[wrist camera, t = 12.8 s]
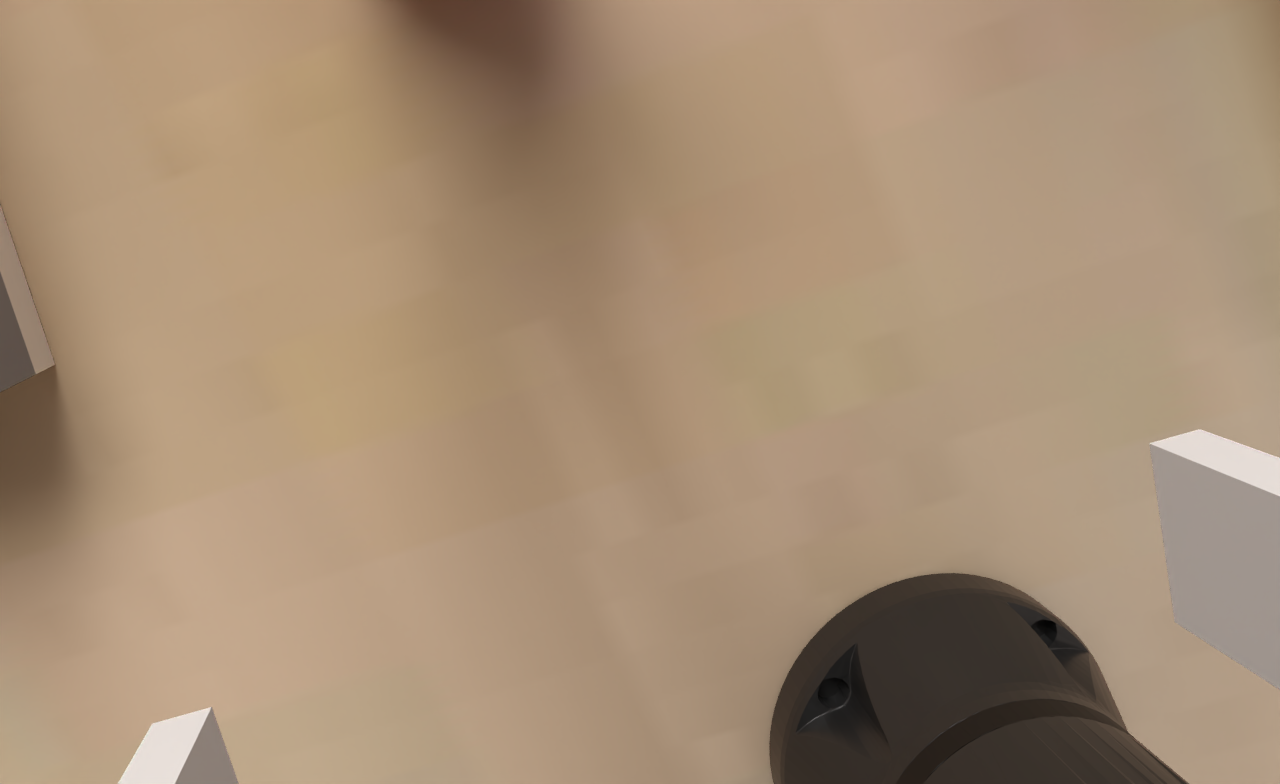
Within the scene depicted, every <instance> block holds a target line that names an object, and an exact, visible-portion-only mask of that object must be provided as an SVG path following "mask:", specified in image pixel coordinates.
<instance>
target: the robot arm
mask: <svg viewBox="0 0 1280 784" xmlns="http://www.w3.org/2000/svg"><path fill="white" fill-rule="evenodd" d="M1149 444H1150V451H1151V458H1152V465H1153V472H1154V479H1155V486H1156V493H1157V500H1158V507H1159V514H1160V521H1161V528H1162V535H1163V542H1164V549H1165V556H1166V563H1167V570H1168V578H1169V585H1170V592H1171V599H1172V606H1173V613H1174V620H1175V623H1177V624H1179V625H1180V626H1182V627H1183V628H1185V629H1186V630H1188V631H1189V632H1191V633H1192V634H1194V635H1196V636H1197V637H1199V638H1200V639H1202V640H1203V641H1205V642H1206V643H1208V644H1210V645H1211V646H1213V647H1214V648H1216V649H1217V650H1219V651H1220V652H1222V653H1223V654H1225V655H1227V656H1228V657H1230V658H1231V659H1233V660H1234V661H1236V662H1237V663H1239V664H1241V665H1242V666H1244V667H1245V668H1247V669H1248V670H1250V671H1251V672H1253V673H1254V674H1256V675H1258V676H1259V677H1261V678H1262V679H1264V680H1265V681H1267V682H1268V683H1270V684H1272V685H1273V686H1275V687H1276V688H1278V689H1279V690H1280V458H1279V457H1276V456H1273V455H1270V454H1267V453H1265V452H1262V451H1259V450H1256V449H1254V448H1251V447H1248V446H1245V445H1242V444H1240V443H1237V442H1234V441H1231V440H1228V439H1226V438H1223V437H1220V436H1217V435H1215V434H1212V433H1209V432H1206V431H1203V430H1201V429H1199V430H1195V431H1192V432H1188V433H1184V434H1181V435H1177V436H1174V437H1170V438H1167V439H1163V440H1160V441H1156V442H1152V443H1149ZM770 764H771V771H772V777H773V781H774V784H1189V783H1188V782H1186V781H1185V780H1184V779H1183V778H1182V777H1180V776H1179V775H1178V774H1177V773H1176V772H1174V771H1173V770H1172V769H1171V768H1170V767H1169V766H1167V765H1166V764H1165V763H1164V762H1163V761H1161V760H1160V759H1159V758H1158V757H1157V756H1155V755H1154V754H1153V753H1152V752H1151V751H1149V750H1148V749H1147V748H1146V747H1145V746H1144V745H1142V744H1141V743H1140V742H1139V741H1137V740H1136V739H1135V738H1134V737H1133V736H1132V735H1130V734H1129V733H1128V731H1127V729H1126V726H1125V724H1124V722H1123V720H1122V717H1121V715H1120V713H1119V711H1118V708H1117V706H1116V704H1115V701H1114V699H1113V697H1112V695H1111V692H1110V690H1109V688H1108V686H1107V683H1106V681H1105V679H1104V677H1103V674H1102V672H1101V670H1100V668H1099V666H1098V664H1097V662H1096V661H1095V659H1094V657H1093V656H1092V654H1091V653H1090V651H1089V650H1088V648H1087V647H1086V646H1085V645H1084V643H1083V642H1082V641H1081V640H1080V638H1079V637H1078V636H1077V635H1076V634H1075V633H1074V632H1073V631H1072V630H1071V629H1070V627H1069V626H1067V625H1066V624H1065V623H1064V622H1063V621H1062V620H1060V619H1059V618H1058V617H1057V616H1055V615H1054V614H1053V613H1052V612H1050V611H1049V610H1048V609H1047V608H1045V607H1044V606H1043V605H1041V604H1040V603H1039V602H1037V601H1036V600H1035V599H1033V598H1032V597H1030V596H1029V595H1027V594H1025V593H1024V592H1022V591H1020V590H1018V589H1016V588H1014V587H1012V586H1010V585H1007V584H1005V583H1002V582H1000V581H996V580H993V579H990V578H986V577H981V576H976V575H969V574H956V573H946V574H931V575H924V576H918V577H914V578H909V579H905V580H902V581H899V582H895V583H892V584H890V585H887V586H885V587H882V588H880V589H878V590H876V591H873V592H871V593H869V594H867V595H866V596H864V597H862V598H860V599H858V600H857V601H855V602H854V603H852V604H851V605H849V606H848V607H846V608H845V609H844V610H842V611H841V612H840V613H838V614H837V615H836V616H835V617H833V618H832V619H831V620H830V621H829V622H828V623H827V624H826V625H825V626H824V627H823V628H822V629H820V630H819V631H818V633H817V634H816V635H815V636H814V637H813V638H812V639H811V640H810V642H809V643H808V644H807V646H806V647H805V648H804V649H803V651H802V652H801V654H800V655H799V657H798V658H797V660H796V661H795V663H794V664H793V666H792V668H791V670H790V671H789V673H788V675H787V677H786V679H785V682H784V684H783V686H782V689H781V691H780V694H779V696H778V700H777V703H776V706H775V710H774V714H773V718H772V725H771V731H770ZM118 784H239V783H238V781H237V778H236V775H235V772H234V769H233V766H232V763H231V761H230V758H229V755H228V752H227V749H226V746H225V744H224V741H223V738H222V735H221V732H220V729H219V726H218V724H217V721H216V718H215V715H214V712H213V709H212V707H210V708H206V709H203V710H199V711H196V712H192V713H188V714H185V715H181V716H178V717H174V718H171V719H167V720H164V721H160V722H156V723H153V724H152V725H151V727H150V729H149V730H148V732H147V734H146V735H145V737H144V739H143V741H142V742H141V744H140V746H139V748H138V749H137V751H136V753H135V755H134V756H133V758H132V760H131V762H130V763H129V765H128V767H127V769H126V770H125V772H124V774H123V776H122V777H121V779H120V781H119V783H118Z"/></svg>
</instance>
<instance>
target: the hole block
mask: <svg viewBox="0 0 1280 784" xmlns="http://www.w3.org/2000/svg"><path fill="white" fill-rule="evenodd" d="M53 365H55V363H54V360H53V357H52V354H51V351H50V348H49V345H48V342H47V339H46V337H45V334H44V331H43V328H42V325H41V322H40V319H39V316H38V313H37V310H36V307H35V304H34V302H33V299H32V296H31V293H30V290H29V287H28V284H27V281H26V278H25V275H24V272H23V269H22V267H21V264H20V261H19V258H18V255H17V252H16V249H15V246H14V243H13V240H12V237H11V234H10V232H9V229H8V226H7V223H6V220H5V217H4V214H3V211H2V208H1V205H0V392H2V391H4V390H6V389H8V388H10V387H12V386H14V385H16V384H18V383H20V382H22V381H24V380H26V379H28V378H30V377H32V376H34V375H36V374H38V373H40V372H41V371H43V370H45V369H47V368H49V367H51V366H53Z"/></svg>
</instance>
